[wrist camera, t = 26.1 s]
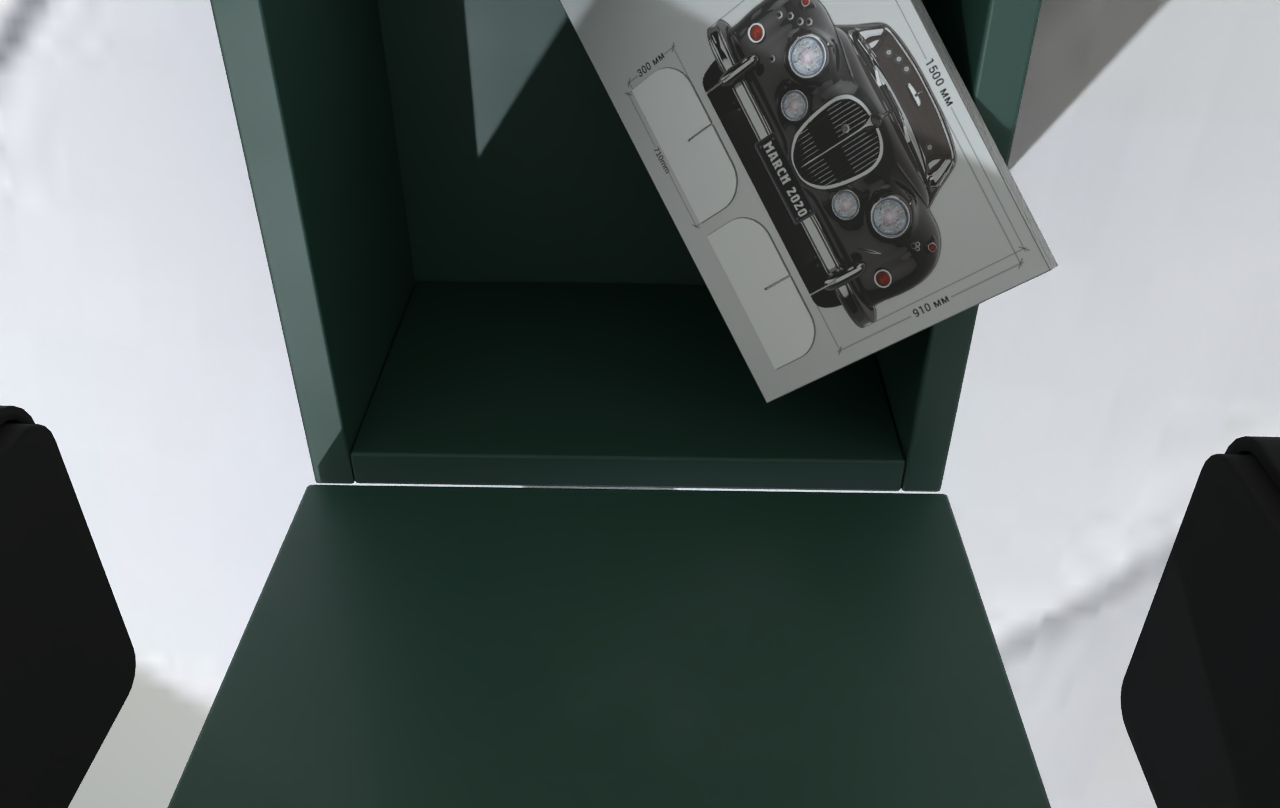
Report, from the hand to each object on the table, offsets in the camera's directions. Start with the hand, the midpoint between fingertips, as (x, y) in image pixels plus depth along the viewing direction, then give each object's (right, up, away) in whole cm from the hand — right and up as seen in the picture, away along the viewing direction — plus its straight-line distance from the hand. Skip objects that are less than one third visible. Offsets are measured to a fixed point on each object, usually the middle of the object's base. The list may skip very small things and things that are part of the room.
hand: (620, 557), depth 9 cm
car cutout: (+2, +9, +13) cm, 16 cm away
